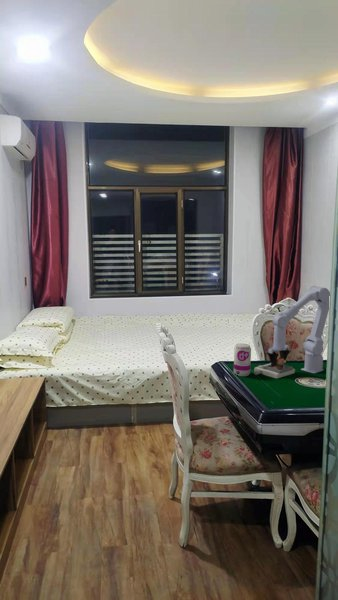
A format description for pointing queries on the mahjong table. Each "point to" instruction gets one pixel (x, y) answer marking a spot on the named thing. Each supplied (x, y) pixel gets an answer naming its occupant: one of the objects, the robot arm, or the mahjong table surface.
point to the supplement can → (242, 359)
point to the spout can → (279, 363)
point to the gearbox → (273, 371)
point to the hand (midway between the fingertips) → (278, 364)
